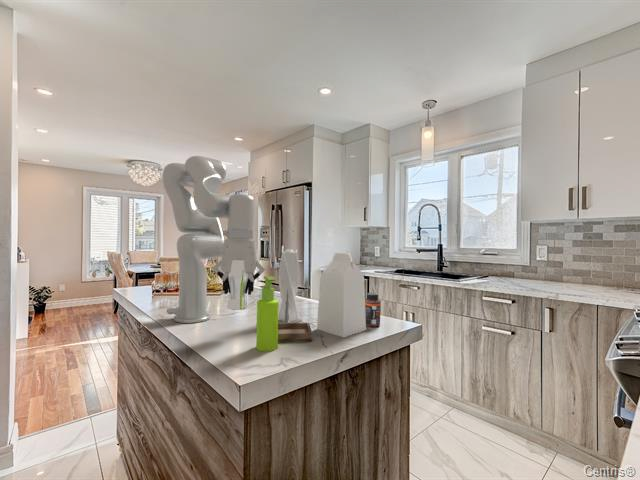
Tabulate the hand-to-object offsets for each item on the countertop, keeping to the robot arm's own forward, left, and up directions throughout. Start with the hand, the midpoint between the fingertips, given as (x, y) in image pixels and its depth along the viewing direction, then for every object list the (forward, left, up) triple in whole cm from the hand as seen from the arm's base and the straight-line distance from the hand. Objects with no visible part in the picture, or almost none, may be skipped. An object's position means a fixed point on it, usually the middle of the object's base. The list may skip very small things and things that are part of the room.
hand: (238, 293), depth 98 cm
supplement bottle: (+46, +11, -14) cm, 49 cm away
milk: (+34, +6, -14) cm, 37 cm away
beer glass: (0, 0, -5) cm, 5 cm away
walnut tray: (+17, 0, -13) cm, 21 cm away
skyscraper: (+16, +18, -14) cm, 28 cm away
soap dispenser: (+10, -11, -14) cm, 20 cm away
